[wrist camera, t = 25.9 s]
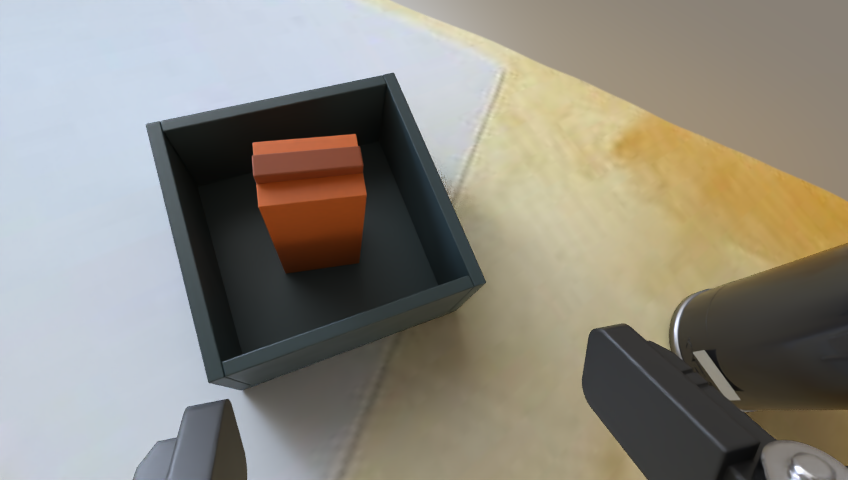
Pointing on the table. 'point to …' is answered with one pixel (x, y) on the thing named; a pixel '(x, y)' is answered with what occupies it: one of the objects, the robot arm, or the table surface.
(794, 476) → the robot arm
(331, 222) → the block
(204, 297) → the bin
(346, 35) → the table surface
